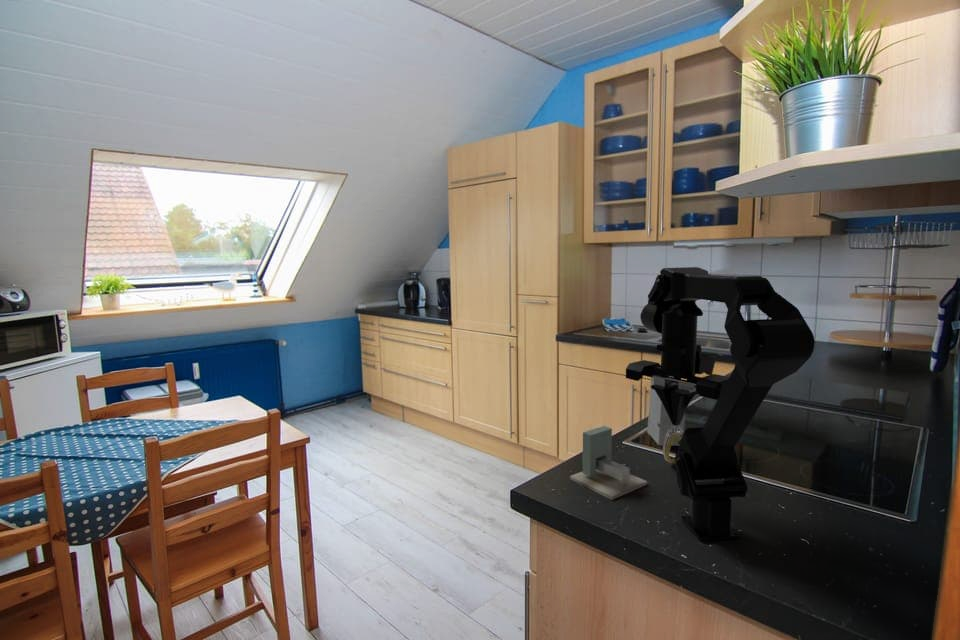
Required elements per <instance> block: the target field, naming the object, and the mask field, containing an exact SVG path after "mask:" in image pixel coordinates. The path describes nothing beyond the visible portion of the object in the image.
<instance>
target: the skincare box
mask: <svg viewBox="0 0 960 640" xmlns="http://www.w3.org/2000/svg"><path fill="white" fill-rule="evenodd" d="M670 377H671V376H670ZM651 385H654V378H652V377H650V385H649V386H650V388H649V402H648V403H649V405H648V420H647V434H648V435H649V436H650V437H651V439H653V440H654V441H655V443H656V444H657V446H660V447H661V446H662V447H663V444H664V439H665V436H666V433H667V431H668V429H669V428H672V427H673V426H675V425H673V424H672V422H671V420H670V418H669V416H668V414H667V412H666V410H665V407H664V405H663V403H662V402H661V400H660V398H659V396H658V395H657V393H656V391H655V390H654V389H651ZM685 420H686V413H685V414H684V416H683V418H682V421H681V423H680V425H678V426H675V428H678V429H679V426H681V428H682V431H685V423H686V421H685ZM673 436H674V434H673V435H670V437H669V441H670V440H671V438H672V437H673ZM680 440H681V439H680V437H679V436H678V437H677V439H676V440H675V441H674V443H673V444H672V446H671V447H674V446H678V447H679V446H680V445H679V444H678V442H679V441H680ZM669 441H668V442H669Z"/></svg>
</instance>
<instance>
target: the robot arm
mask: <svg viewBox="0 0 960 640" xmlns="http://www.w3.org/2000/svg"><path fill="white" fill-rule="evenodd" d="M659 273H660V274H658V275H657V276H656V278H655V280H654V284H653V285H652V288H651V289H650V291H649V293H648V295H647V297H648V298H647V299H648V300H647V304H645V305H644V306H643V308H642V310H641V312H640V316H639V317H640V321H641V324H642V325H643V327H645V328H646V329H648V330H650V331H653V332H656V333H658V334H661V343H659V344H656V351H658V352H660V353H661V354H660V362H657V361H656V362H655V361H651V360H645V359H643V360H639V361H634V362H631V363H630V362H629V364H627V367H626V368H625V378H626V379H627V380H632V381H637V382H638V381H640V380H641V379H642V378H643V376H645V377H647V378H651V377H652V378H654V385H651V384H650V385H651V389H654V390H655V391H656V393H657V395H658V396H659V398H660V400H661V402H662V403H663V405H664V407H665V410H666V412H667V414H668V416H669V418H670V420H671V422H672V424H673V425H675V426H678V425H680V423H681V421H682V418H683V416H684V414H685V415H686V412H687V410H688V407H689V405H690V403H691V402H692V400H693V399H694V397H695V396H696V395H699V397H703V398H707V399H710V400H711V399H712V400H715V401H716V402H715V404H714V406H713V408H712V410H711V411H710V414H709V416H708V417H707V419H706V422H705V423H704V425H703V426H701V427H699V426H697V427H695V426H694V427H687V428H686V429H684V433H683V437H682V439H681V440H680V441H679V442H678V444H679V445H680V446H678V447H677V451H676V452H675V454H674V455H675V456H674V458H675V464H674V467H675V471H676V472H675V473H676V480H677V481H676V483H677V484H678V485H677V486H678V488H679V489H680V491H679V493H680V495H682V496H684V497H687V498H688V499H690V503H689V505H690V506H689V515H682V516H680V520H681V522H682V523H683V524H684V525H685V526H686V527H687V528H688V529H689V531H690V532H691V533H692V534H693V535H694V536H695V537H696V538H697V539H698V540H699V541H702V542H705V541H706V542H707V541H716V540H717V541H719V540H720V541H721V540H733V539H734V540H735V539H739V538H740V536H741V535H740V533H739V532H738V531H737V530H736V529H734V527H732V525H731V523H732V508H733V507H732V505H733V500H732V498H745V497H746V496H747V495H746V494H747V492H748V485H747V482H746V480H745V477H744V474H743V473H742V470H741V468H740V465H739V461H740V458H739V455H738V452H737V449H736V445H737V443H738V442H739V440H740V439H741V437H742V436H743V434H744V432H745V431H746V429H747V427H748V426H749V424H750V423H751V421H752V420H753V417H754V416H755V415H756V413H757V411H758V410H759V408H760V406H761V405H762V403H763V402H764V400H765V398H766V396H768V394H769V392H770V390H771V388H772V387H773V386H774V385H775V384H776V383H779V382H780V381H783V380H784V379H786V378H788V377H790V376H792V375H793V374H795V373H797V372H798V371H799V370H800V369H801V367H803V365H805V364H806V362H807V361H809V360H810V358H811V357H812V354H813V353H814V349H815V336H814V334H813V331H812V330H811V328H810V326H809V325H808V323H807V321H806V320H805V318H804V317H803V314H802V313H801V311H800V310H799V308H798V307H797V306H795V305H794V304H792V303H791V302H790V301H789V300H788V299H786V298H784V297H783V296H782V295H781V294H779V293H778V292H776V290H775V288H774V287H773V285H772V284H771V283H770V281H769V279H767V278H766V277H765V276H764V277H763V276H761V275H719V274H718V275H717V274H715V275H714V274H709V271H708V270H706V269H704V268H701V267H700V266H699V267H698V266H693V267H691V266H689V267H683V266H682V267H664V268H662V269H661V270H660V271H659ZM700 300H705V301H710V302H716V303H722V304H723V303H724V304H725V307H726V309H727V311H726V317H725V319H724V320H725V321H724V326H723V327H724V328H723V329H724V330H725V332H726V335H727V337H728V339H729V340H730V343H731V344H730V348H729V352H730V355H731V357H732V361H733V364H734V368H733V369H732V371H731V373H730V376H727V375H722V374H716V373H713V372H714V368H715V365H716V358H715V357H713V356H710V355H708V354H705V353H702V345H701V344H697V343H698V342H697V337H698V336H697V335H698V317H703V315H704V312H703V310H702V309H701V308H700V307H699V306H698V305H697V303H696V302H697V301H700ZM743 306H757V309H759V311H761V312H762V313H763V314H765V316H767V317H768V318H764V319H763V318H762V319H761V318H760V319H746V320H745V318H744V315H742V312H741V307H743ZM704 374H706V376H705V375H704ZM696 375H704V376H696ZM670 376H671V377H670ZM719 479H720V480H719ZM721 479H723V480H721ZM705 480H708V481H705ZM711 480H712V481H711ZM713 480H714V481H713Z"/></svg>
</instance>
